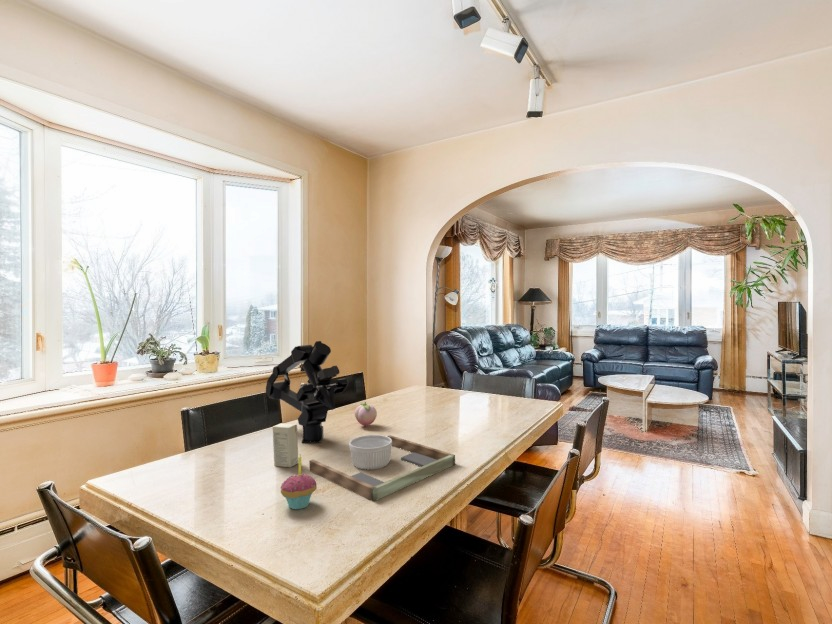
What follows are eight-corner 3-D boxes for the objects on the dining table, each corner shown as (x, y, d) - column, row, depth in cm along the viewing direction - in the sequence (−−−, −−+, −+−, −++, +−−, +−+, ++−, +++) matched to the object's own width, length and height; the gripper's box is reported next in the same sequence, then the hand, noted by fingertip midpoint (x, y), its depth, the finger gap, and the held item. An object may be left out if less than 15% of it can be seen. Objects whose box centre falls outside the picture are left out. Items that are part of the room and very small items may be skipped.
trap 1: (344, 481, 117) (344, 478, 117) (361, 475, 122) (361, 472, 122) (367, 492, 110) (367, 489, 110) (384, 485, 115) (384, 482, 115)
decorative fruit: (381, 427, 169) (380, 402, 168) (362, 431, 164) (362, 405, 164) (369, 422, 176) (369, 398, 176) (352, 425, 172) (351, 401, 172)
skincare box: (299, 462, 132) (298, 423, 132) (290, 468, 128) (289, 427, 127) (281, 460, 134) (281, 422, 134) (272, 465, 130) (272, 426, 130)
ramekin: (341, 468, 127) (341, 445, 127) (361, 453, 139) (361, 432, 139) (381, 474, 123) (381, 450, 122) (399, 458, 135) (398, 436, 135)
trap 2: (400, 459, 133) (400, 457, 133) (414, 454, 138) (414, 452, 138) (424, 468, 126) (424, 465, 126) (437, 462, 131) (437, 459, 131)
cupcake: (285, 497, 108) (284, 451, 108) (319, 496, 109) (318, 449, 108) (277, 514, 99) (276, 463, 99) (314, 512, 100) (313, 462, 100)
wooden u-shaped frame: (309, 470, 126) (309, 460, 125) (390, 443, 149) (389, 435, 149) (373, 501, 105) (373, 489, 105) (455, 464, 129) (455, 454, 129)
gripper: (300, 361, 141) (319, 399, 133) (345, 356, 154) (365, 390, 147) (288, 382, 147) (306, 419, 139) (333, 375, 160) (351, 409, 153)
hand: (333, 408), depth 144 cm, fingers closed
